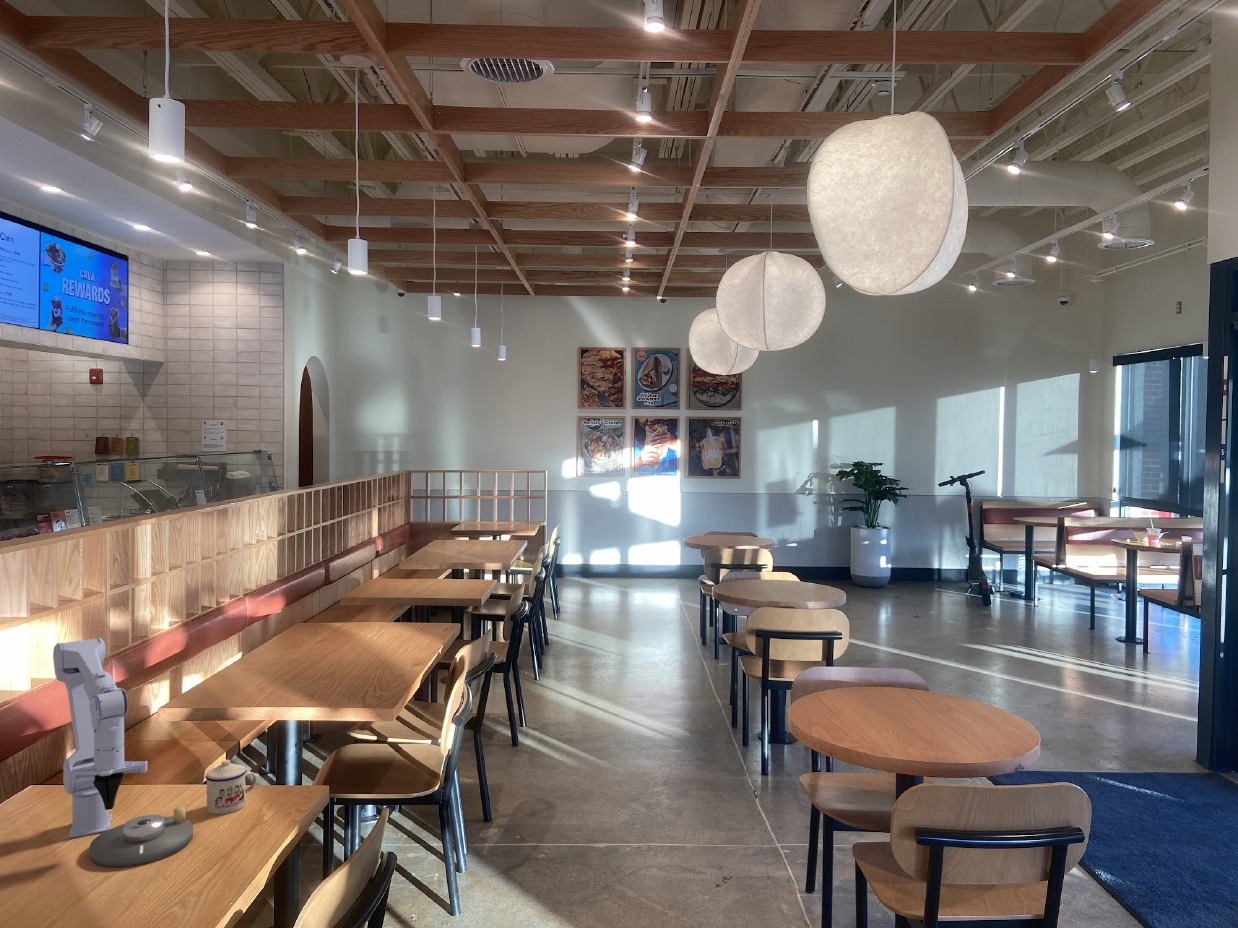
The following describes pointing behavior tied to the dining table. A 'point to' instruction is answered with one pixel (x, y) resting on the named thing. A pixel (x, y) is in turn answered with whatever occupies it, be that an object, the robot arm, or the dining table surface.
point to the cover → (143, 829)
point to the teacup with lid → (227, 788)
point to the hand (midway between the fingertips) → (109, 807)
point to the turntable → (119, 854)
